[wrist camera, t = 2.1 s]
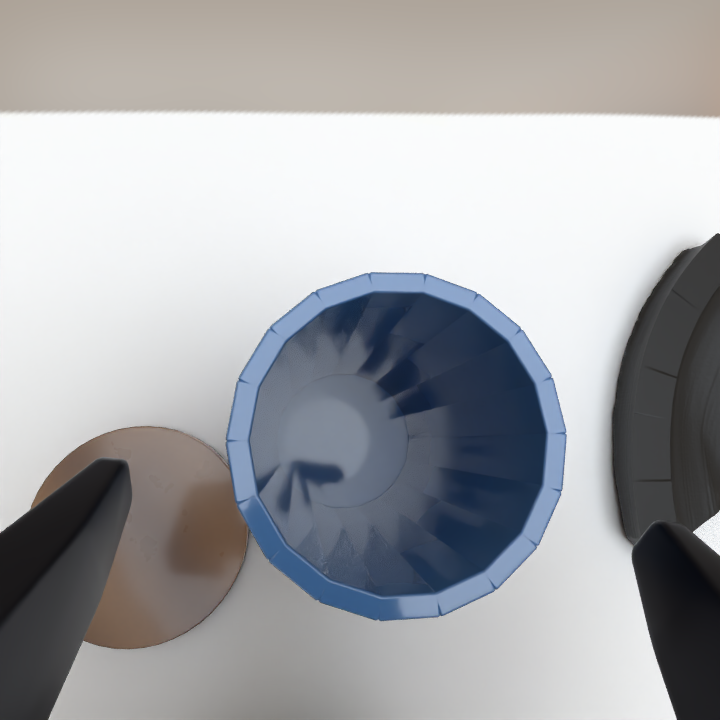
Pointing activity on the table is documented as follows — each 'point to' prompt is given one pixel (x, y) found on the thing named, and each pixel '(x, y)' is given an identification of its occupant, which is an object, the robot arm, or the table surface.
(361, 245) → the table surface
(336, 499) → the pen cup
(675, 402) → the dark sector wedge
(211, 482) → the coaster
